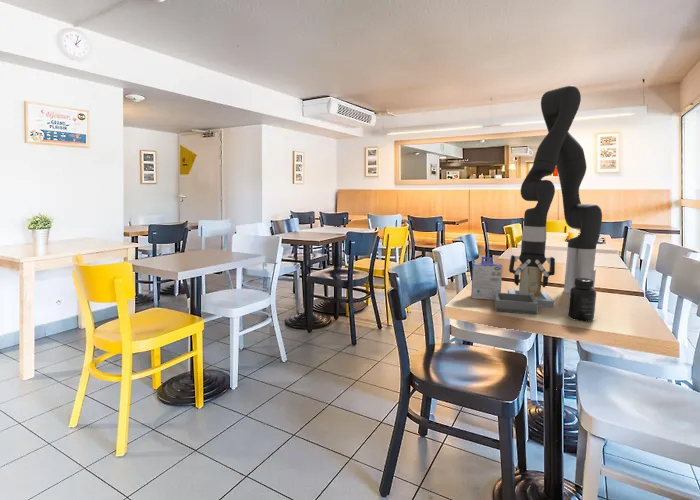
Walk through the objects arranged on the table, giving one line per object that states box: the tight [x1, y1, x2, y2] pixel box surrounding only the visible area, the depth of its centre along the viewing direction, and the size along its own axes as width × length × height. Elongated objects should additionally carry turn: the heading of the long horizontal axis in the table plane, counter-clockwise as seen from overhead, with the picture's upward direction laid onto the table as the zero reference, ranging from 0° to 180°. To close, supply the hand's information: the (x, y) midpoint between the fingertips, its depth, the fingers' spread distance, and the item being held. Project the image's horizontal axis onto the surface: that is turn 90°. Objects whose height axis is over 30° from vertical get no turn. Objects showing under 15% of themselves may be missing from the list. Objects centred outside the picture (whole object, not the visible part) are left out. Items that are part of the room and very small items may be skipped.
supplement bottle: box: [567, 278, 597, 322], centre depth 122 cm, size 7×7×12 cm
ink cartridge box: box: [470, 256, 503, 301], centre depth 145 cm, size 10×6×14 cm, turn 79°
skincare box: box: [518, 266, 543, 299], centre depth 142 cm, size 6×4×12 cm
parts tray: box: [493, 292, 539, 315], centre depth 133 cm, size 12×11×4 cm
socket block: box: [507, 288, 555, 308], centre depth 143 cm, size 13×14×2 cm
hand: (530, 285), depth 142 cm, fingers open, 8 cm apart
